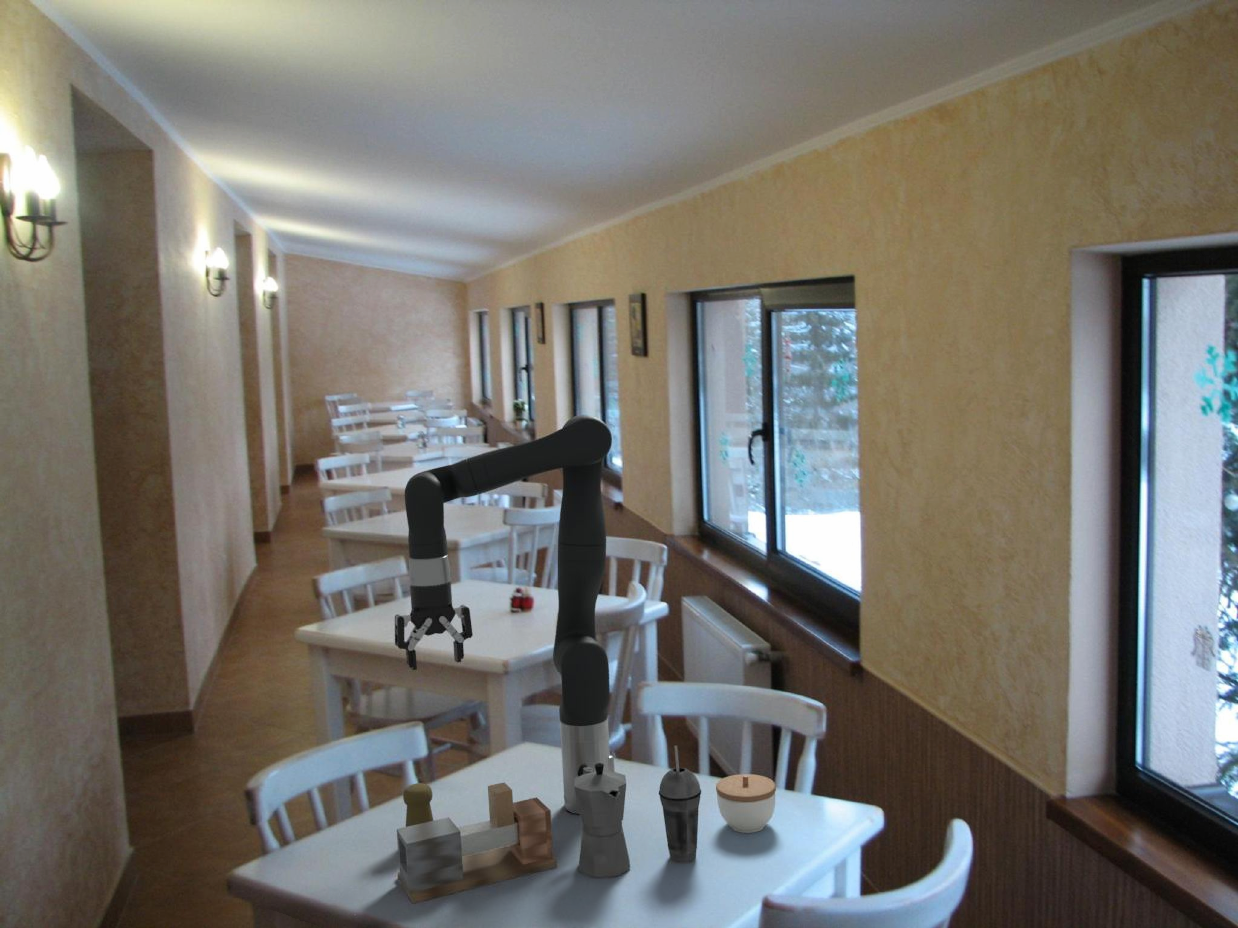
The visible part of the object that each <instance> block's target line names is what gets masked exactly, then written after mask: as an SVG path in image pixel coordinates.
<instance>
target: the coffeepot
mask: <svg viewBox="0 0 1238 928" xmlns="http://www.w3.org/2000/svg"><path fill="white" fill-rule="evenodd" d="M603 767H604V764H602V763H597V764H595V769H596V772H594V769H593V768H591V767H588V766H587V765H586V764H582V765H581V766H580V767H579V770H578V777H576V778H574V788H575V793H576V798H577V803H578V808H579V813H580V814H579V816H580V823H582V830H581V831H582V832H581V842H580V851H579V860H578V868H579V869H578V870H579V872H580V873H581V874H582V875H584V876H587V877H589V878H593V879H594V878H595V879H608V878H613V877H618V876H620V875H621V876H622V874H625V873H626V872H627V871H628V870H629V869H630V868H631V863H630V862H631V861H630V855H629V852H628V851H629V850H628V846H627V841H626V838H625V831H624V828H623V820H624V815H625V814H624V812H625V805H626V804H625V801H626V792H627V779H626V774H622V773H619V772H616V771H615V772H613V771H603Z"/></svg>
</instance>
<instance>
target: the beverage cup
mask: <svg viewBox="0 0 1238 928" xmlns="http://www.w3.org/2000/svg"><path fill="white" fill-rule="evenodd" d="M673 749H674V756H675V767H673V768H672V769H670V770H668V771H667V772H666V773H665V774H664V775H663V776H662V778H661V781H660V785H659V789H658V795H659V799H660V803H661V804H660V805H661V807H662V812H663V820H664V826H665V827H664V828H665V834H666V836H665V837H666V841H667V842H666V843H667V850H668V853H669V858H670V859H669V860H671V861H672V862H674V863H677V864H688V863H691V862H694V860H696V859H697V850H698V831H699V830H698V829H699V807H700V802H701V794H702V789H701V786H700V782H699V779H698V778H697V776H696V775H695V774H694V772H692V771H691V770H689V769H688V768H685V767H680V764H679V763H680V762H679V750H678V749H679V748H678V745H674V747H673Z"/></svg>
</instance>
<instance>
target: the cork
mask: <svg viewBox="0 0 1238 928" xmlns="http://www.w3.org/2000/svg"><path fill="white" fill-rule="evenodd" d="M402 798H403V799H402V800H403V802H404V804H405V806H406V813H405V814H406V817H405V827H408V826H413V825H417V824H421V823H426V822H430V821H435V820H434V816H433V812H432V807H431V802H432V800H433V790H432V788H431V786H430V785H428V784H427V783H421V782H420V783H419V782H418V783H413V784H409V785H408V786H407V787H405V789H404V791H403V794H402Z"/></svg>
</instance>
